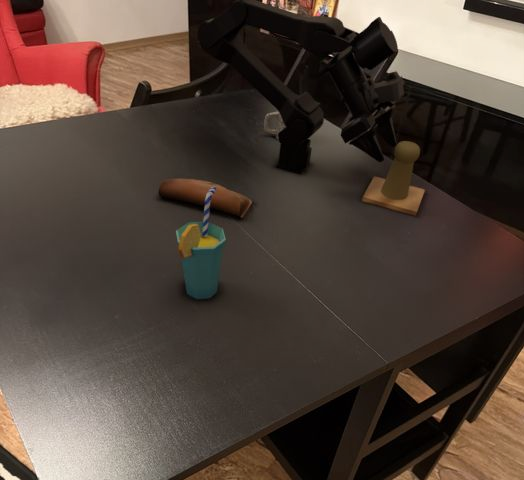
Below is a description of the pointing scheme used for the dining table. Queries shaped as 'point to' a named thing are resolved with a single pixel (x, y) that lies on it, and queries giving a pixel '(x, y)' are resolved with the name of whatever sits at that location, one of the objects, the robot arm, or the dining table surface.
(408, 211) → the cork mat
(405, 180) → the pepper shaker
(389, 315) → the dining table surface
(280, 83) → the robot arm
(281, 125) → the mug
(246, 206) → the sunglasses case
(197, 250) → the cup
